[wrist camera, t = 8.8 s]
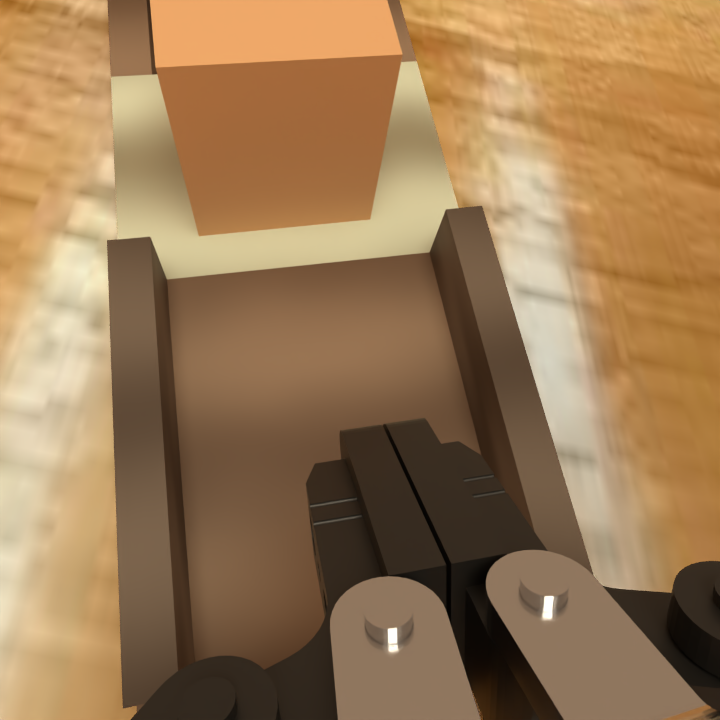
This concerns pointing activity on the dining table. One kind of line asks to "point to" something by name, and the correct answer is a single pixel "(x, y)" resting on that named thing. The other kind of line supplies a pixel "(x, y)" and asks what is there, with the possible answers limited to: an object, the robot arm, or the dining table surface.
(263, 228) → the block
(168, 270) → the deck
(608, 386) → the dining table surface
